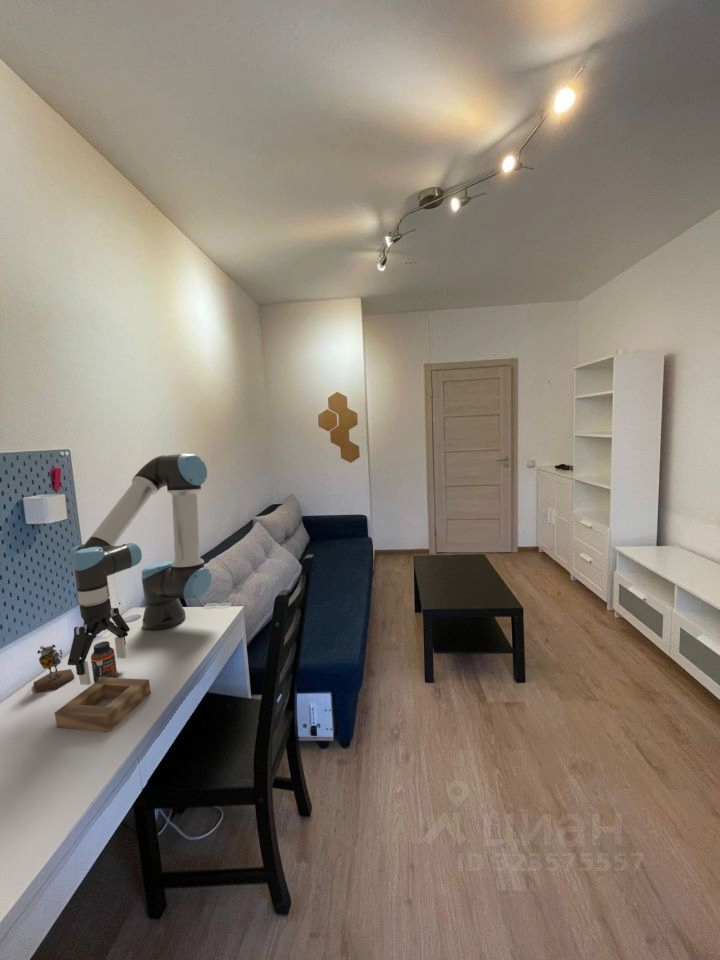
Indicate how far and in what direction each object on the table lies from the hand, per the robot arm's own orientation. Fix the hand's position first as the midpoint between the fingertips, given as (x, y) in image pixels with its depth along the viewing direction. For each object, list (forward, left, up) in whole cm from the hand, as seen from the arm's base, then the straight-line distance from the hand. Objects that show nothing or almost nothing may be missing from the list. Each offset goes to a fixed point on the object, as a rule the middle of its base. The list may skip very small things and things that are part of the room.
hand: (104, 670), depth 122 cm
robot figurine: (+2, -16, -4) cm, 16 cm away
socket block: (+12, +11, -3) cm, 17 cm away
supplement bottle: (0, 0, -3) cm, 3 cm away
